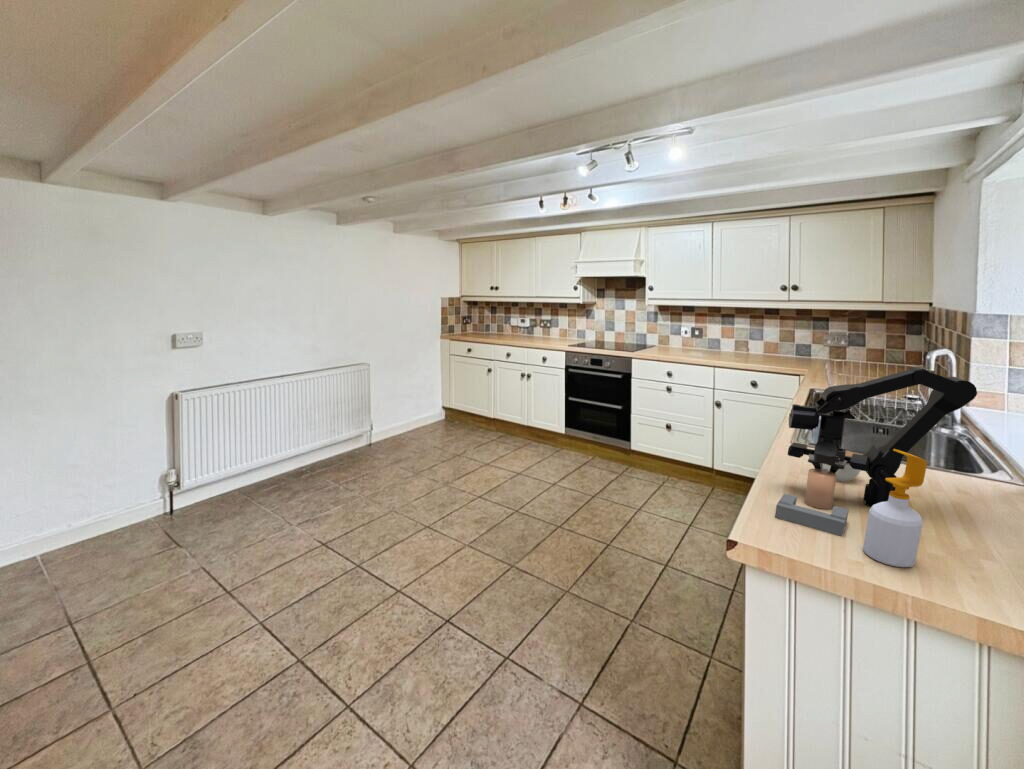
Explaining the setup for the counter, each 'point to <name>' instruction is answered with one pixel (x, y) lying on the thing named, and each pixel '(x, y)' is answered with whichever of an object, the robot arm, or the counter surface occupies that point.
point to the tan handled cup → (820, 488)
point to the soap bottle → (896, 520)
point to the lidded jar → (845, 471)
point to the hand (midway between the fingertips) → (823, 484)
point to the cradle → (811, 516)
